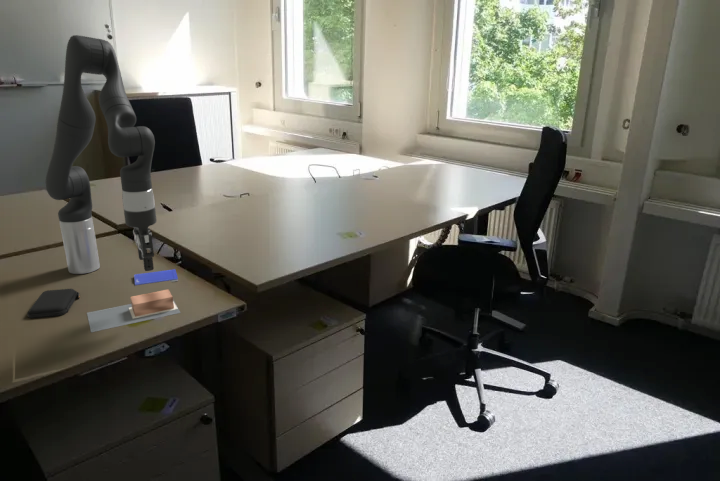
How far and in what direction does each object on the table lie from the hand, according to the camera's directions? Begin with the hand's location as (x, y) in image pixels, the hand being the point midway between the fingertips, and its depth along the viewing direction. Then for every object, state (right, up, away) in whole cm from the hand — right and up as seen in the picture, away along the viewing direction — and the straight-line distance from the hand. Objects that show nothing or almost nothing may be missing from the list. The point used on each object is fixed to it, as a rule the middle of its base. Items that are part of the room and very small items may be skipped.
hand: (146, 264), depth 141 cm
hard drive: (-7, -6, +25) cm, 27 cm away
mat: (-4, -14, +2) cm, 15 cm away
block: (0, -12, +5) cm, 13 cm away
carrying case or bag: (-27, -13, +6) cm, 31 cm away
